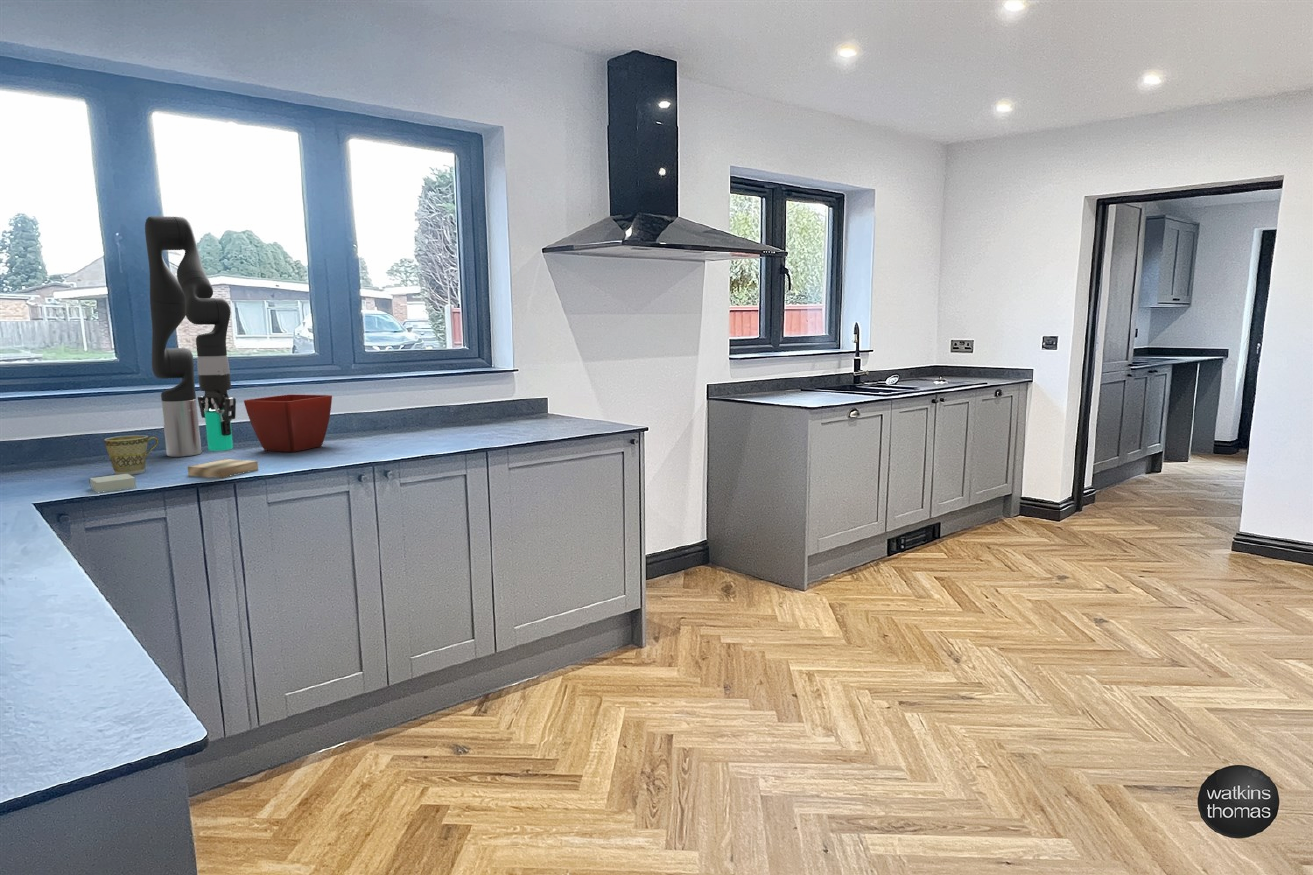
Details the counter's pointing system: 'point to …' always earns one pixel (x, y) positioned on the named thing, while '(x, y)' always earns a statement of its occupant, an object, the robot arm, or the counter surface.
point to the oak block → (222, 468)
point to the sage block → (112, 482)
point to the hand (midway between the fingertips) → (219, 434)
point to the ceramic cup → (128, 453)
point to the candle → (216, 433)
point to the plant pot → (290, 421)
